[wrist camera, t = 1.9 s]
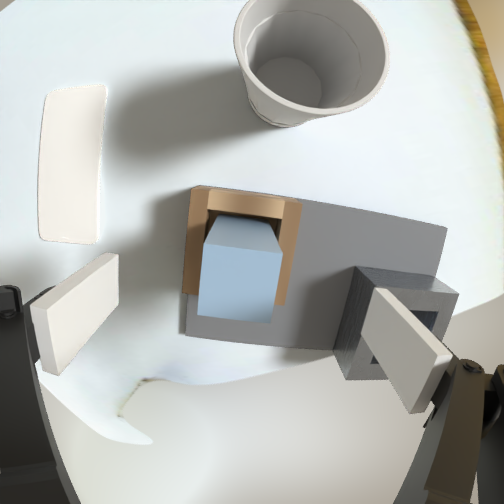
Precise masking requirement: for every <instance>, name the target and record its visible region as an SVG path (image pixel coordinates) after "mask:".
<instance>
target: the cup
mask: <svg viewBox="0 0 504 504" xmlns="http://www.w3.org/2000/svg"><path fill="white" fill-rule="evenodd" d="M233 38H234V49H235V53H236V56H237V59H238V62H239V65H240V68H241V71H242V73H243V77H244V80H245V84H246V87H247V91H248V99H249V102H250V105H251V107H252V108H253V110H254V111H255V113H256V114H257V115H258V116H259V117H260V118H261V119H263V120H264V121H266V122H268V123H270V124H272V125H275V126H279V127H295V126H299V125H301V124H303V123H305V122H307V121H310V120H313V119H316V118H322V117H327V116H331V115H336V114H341V113H345V112H349V111H352V110H354V109H357V108H359V107H361V106H363V105H364V104H366V103H367V102H369V101H370V100H371V99H372V98H373V97H374V96H375V95H376V94H377V93H378V92H379V91H380V89H381V88H382V86H383V84H384V82H385V80H386V78H387V75H388V71H389V66H390V51H389V46H388V42H387V38H386V36H385V33H384V31H383V29H382V27H381V25H380V24H379V22H378V21H377V19H376V18H375V16H374V15H373V14H372V13H371V12H370V11H369V9H368V8H367V7H365V6H364V5H363V4H362V3H361V2H360V1H358V0H249V1H248V2H247V3H246V5H245V6H244V7H243V9H242V10H241V12H240V13H239V16H238V18H237V20H236V24H235V28H234V37H233Z"/></svg>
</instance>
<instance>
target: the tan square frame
mask: <svg viewBox="0 0 504 504" xmlns="http://www.w3.org/2000/svg"><path fill="white" fill-rule="evenodd" d="M302 205H303V204H302V203H301V202H299V201H298V200H296V199H294V198H287V197H281V196H274V195H267V194H260V193H253V192H245V191H238V190H230V189H222V188H214V187H205V186H197V187H194V188H192V189H191V196H190V205H189V215H188V225H187V235H186V246H185V258H184V271H183V286H182V293H185V294H192V295H199V288H200V277H201V266H202V256H203V246H204V242H205V240H206V238H207V236H208V234H209V232H210V230H211V228H212V226H213V224H214V222H215V220H216V218H217V216H218V214H227V215H235V216H243V217H250V218H258V219H265V220H268V221H269V223H270V226H271V228H272V230H273V232H274V235H275V237H276V239H277V241H278V244H279V246H280V248H281V251H282V253H283V256H282V262H281V268H280V273H279V279H278V285H277V290H276V296H275V301H274V305H282V306H284V305H285V299H286V294H287V289H288V284H289V279H290V273H291V268H292V263H293V257H294V252H295V246H296V241H297V235H298V229H299V223H300V217H301V211H302Z"/></svg>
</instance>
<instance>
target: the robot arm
mask: <svg viewBox="0 0 504 504" xmlns="http://www.w3.org/2000/svg"><path fill="white" fill-rule="evenodd" d="M118 257H119V254H113V253H107V252H105V253H103V254H102V255H100V256H99V257H97V258H96V259H94V260H93V261H91V262H90V263H88V264H87V265H85V266H84V267H83V268H81V269H80V270H78V271H77V272H75V273H74V274H72V275H71V276H69V277H68V278H67V279H65V280H64V281H62V282H61V283H59V284H58V285H57V286H53V287H50V288H47V289H45V290H44V291H42V292H41V293H40V294H39V295H37V296H35V297H34V299H31V300H30V301H29V302H27V303H26V304H24V305H22V298H21V291H20V289H19V288H18V287H16V286H12V285H3V286H0V504H81V503H80V501H79V499H78V496H77V494H76V492H75V490H74V487H73V485H72V483H71V480H70V478H69V476H68V473H67V471H66V468H65V466H64V463H63V461H62V458H61V455H60V452H59V450H58V447H57V444H56V441H55V438H54V435H53V432H52V429H51V426H50V422H49V419H48V415H47V412H46V408H45V405H44V401H43V397H42V393H41V389H40V385H39V380H38V376H37V371H36V367H35V363H36V362H37V361H38V359H39V358H40V360H41V365H42V369H43V371H45V372H48V373H51V374H54V375H57V376H60V374H61V373H62V372H63V371H64V369H65V368H66V367H67V366H68V364H69V363H70V362H71V361H72V359H73V358H74V357H75V356H76V354H77V353H78V352H79V351H80V349H81V348H82V347H83V346H84V345H85V343H86V342H87V341H88V340H89V338H90V337H91V336H92V335H93V334H94V332H95V331H96V330H97V329H98V328H99V327H100V325H101V324H102V323H103V322H104V321H105V319H106V318H107V317H108V316H109V315H110V314H111V312H112V311H113V310H114V309H115V308H116V307H117V305H118V304H119V289H118ZM361 335H362V337H363V338H364V340H365V341H366V343H367V345H368V346H369V348H370V349H371V351H372V353H373V354H374V356H375V358H376V359H377V361H378V362H379V364H380V366H381V367H382V369H383V371H384V372H385V374H386V376H387V377H388V379H389V381H390V382H391V384H392V386H393V387H394V389H395V391H396V392H397V394H398V396H399V397H400V399H401V401H402V402H403V404H404V406H405V408H406V409H407V411H408V413H409V414H414V413H422V412H425V410H426V408H427V406H428V405H429V403H430V401H432V402H433V404H434V405H435V407H434V409H433V411H432V412H431V414H430V416H429V417H428V419H427V421H426V423H425V424H424V426H423V427H424V428H425V427H426V429H425V432H424V434H423V437H422V440H421V442H420V445H419V448H418V450H417V453H416V455H415V458H414V460H413V462H412V465H411V467H410V469H409V472H408V474H407V476H406V478H405V480H404V482H403V485H402V487H401V489H400V491H399V493H398V495H397V497H396V499H395V501H394V503H393V504H472V503H470V498H471V495H472V490H473V485H474V480H475V475H476V471H477V483H478V500H479V504H504V365H502V364H501V365H498V367H497V368H496V370H495V373H494V375H492V374H485V372H484V369H483V368H482V367H481V366H480V365H479V364H478V363H476V362H474V361H472V360H468V359H461V360H459V359H458V358H457V357H456V356H455V355H454V354H453V352H451V351H450V349H449V348H447V346H446V345H445V344H444V343H442V341H441V340H440V339H439V338H438V337H437V336H436V335H434V334H432V333H431V332H430V331H429V330H428V329H427V328H426V327H425V326H424V325H423V324H422V323H421V322H420V321H419V320H418V319H417V318H416V317H415V316H414V315H413V314H412V313H411V312H410V311H409V310H408V309H407V308H406V307H405V306H404V305H403V304H402V303H401V302H400V301H399V300H398V299H397V298H396V297H395V296H394V295H393V294H392V293H391V292H389V291H388V290H387V289H384V288H375V287H374V290H373V294H372V297H371V301H370V304H369V308H368V311H367V315H366V318H365V321H364V325H363V328H362V331H361Z"/></svg>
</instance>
